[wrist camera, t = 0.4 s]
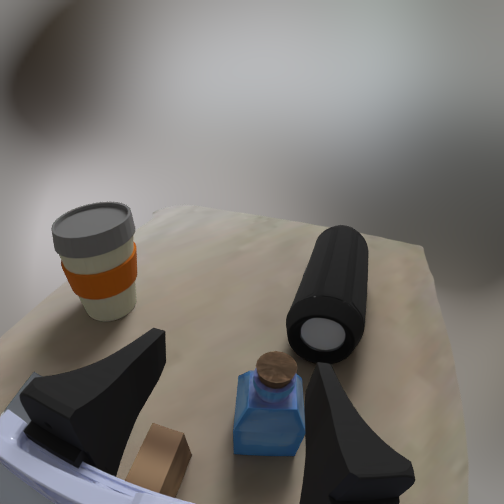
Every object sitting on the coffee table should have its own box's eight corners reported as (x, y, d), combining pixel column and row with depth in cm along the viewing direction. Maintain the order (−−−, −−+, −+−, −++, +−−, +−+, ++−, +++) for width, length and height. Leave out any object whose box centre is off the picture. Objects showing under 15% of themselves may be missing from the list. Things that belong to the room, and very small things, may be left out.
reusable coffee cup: (74, 335, 37) (41, 246, 30) (78, 286, 47) (58, 209, 39) (152, 321, 42) (135, 229, 34) (143, 275, 51) (131, 196, 44)
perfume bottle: (233, 454, 25) (232, 397, 19) (238, 406, 30) (239, 335, 24) (294, 455, 25) (320, 399, 19) (292, 408, 30) (312, 339, 24)
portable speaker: (313, 262, 58) (320, 215, 53) (361, 273, 55) (373, 226, 50) (276, 358, 37) (285, 299, 32) (349, 376, 34) (373, 320, 29)
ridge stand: (62, 561, 10) (47, 559, 8) (-32, 477, 12) (-47, 466, 11) (131, 425, 27) (124, 412, 25) (37, 376, 29) (27, 361, 28)
